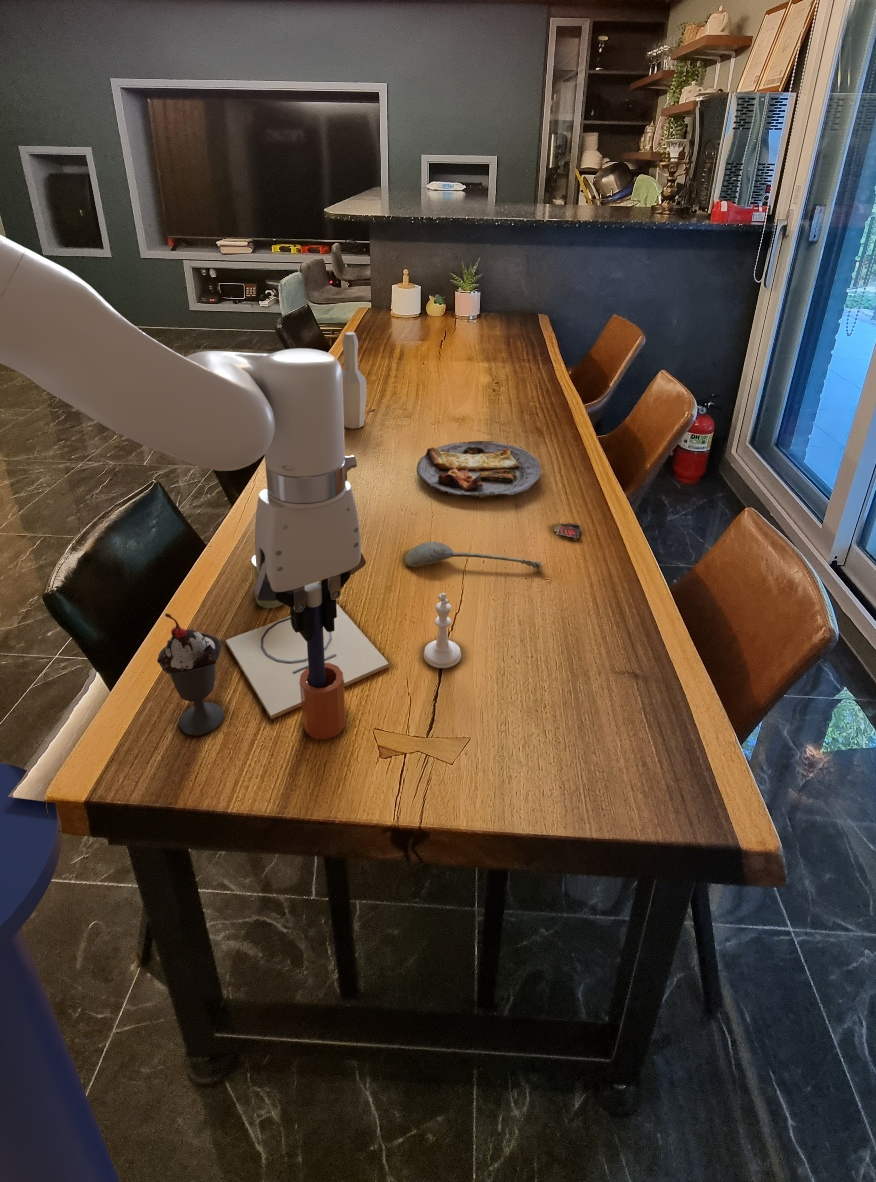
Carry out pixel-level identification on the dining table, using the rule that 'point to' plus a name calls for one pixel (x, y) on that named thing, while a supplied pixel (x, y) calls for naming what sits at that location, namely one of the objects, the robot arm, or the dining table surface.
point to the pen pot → (323, 704)
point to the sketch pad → (299, 659)
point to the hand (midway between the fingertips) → (314, 628)
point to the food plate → (479, 468)
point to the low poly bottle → (353, 384)
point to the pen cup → (255, 575)
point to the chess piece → (442, 639)
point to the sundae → (193, 676)
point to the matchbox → (568, 530)
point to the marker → (315, 636)
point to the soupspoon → (450, 555)
